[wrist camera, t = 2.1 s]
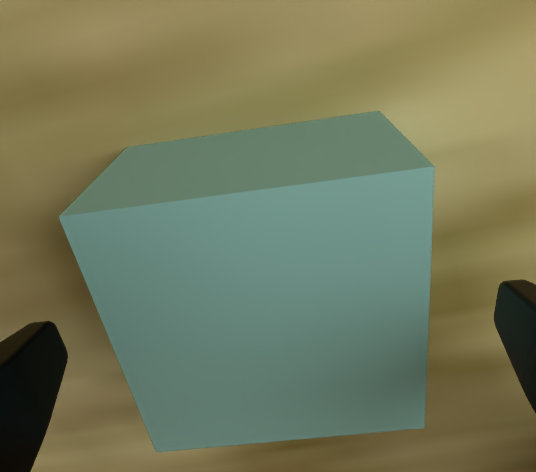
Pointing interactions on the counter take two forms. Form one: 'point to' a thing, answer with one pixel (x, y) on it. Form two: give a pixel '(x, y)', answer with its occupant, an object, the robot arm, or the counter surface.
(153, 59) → the counter surface
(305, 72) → the counter surface
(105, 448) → the counter surface
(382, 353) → the teal block
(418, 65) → the counter surface
